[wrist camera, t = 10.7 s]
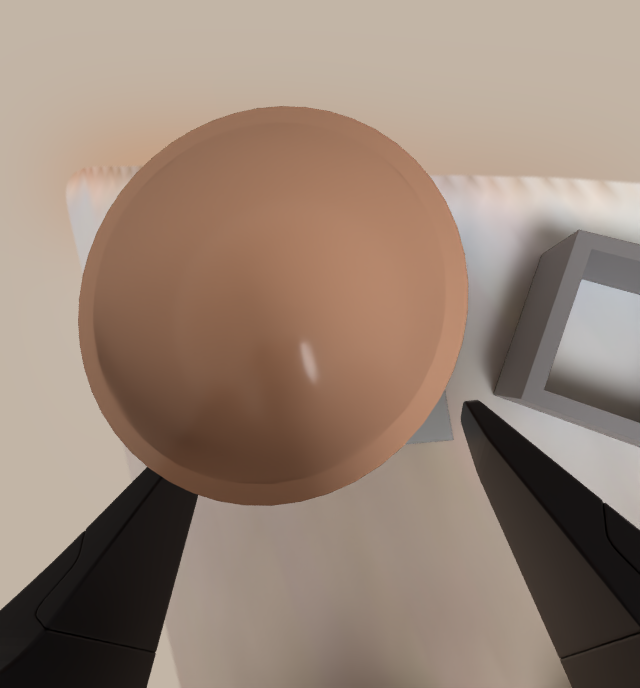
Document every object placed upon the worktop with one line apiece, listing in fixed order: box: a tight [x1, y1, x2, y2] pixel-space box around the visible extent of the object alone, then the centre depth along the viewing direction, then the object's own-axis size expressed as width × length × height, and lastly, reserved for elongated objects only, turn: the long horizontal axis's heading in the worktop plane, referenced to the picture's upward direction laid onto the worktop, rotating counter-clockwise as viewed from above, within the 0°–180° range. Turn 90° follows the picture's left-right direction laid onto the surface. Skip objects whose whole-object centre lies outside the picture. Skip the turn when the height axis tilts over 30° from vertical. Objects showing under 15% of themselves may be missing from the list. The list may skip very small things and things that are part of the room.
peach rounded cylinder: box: [78, 106, 468, 506], centre depth 11 cm, size 8×7×13 cm
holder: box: [493, 230, 640, 447], centre depth 15 cm, size 9×9×3 cm
